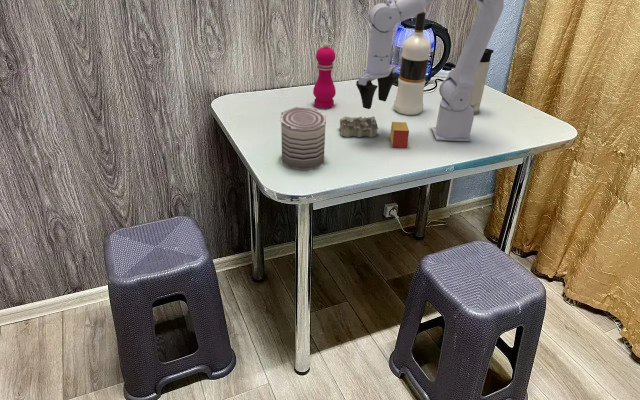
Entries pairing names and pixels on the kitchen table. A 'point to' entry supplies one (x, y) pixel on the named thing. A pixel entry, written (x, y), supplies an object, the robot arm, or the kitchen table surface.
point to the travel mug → (480, 80)
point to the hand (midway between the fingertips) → (374, 104)
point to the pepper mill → (324, 78)
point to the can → (303, 138)
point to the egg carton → (358, 126)
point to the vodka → (413, 71)
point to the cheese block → (399, 134)
